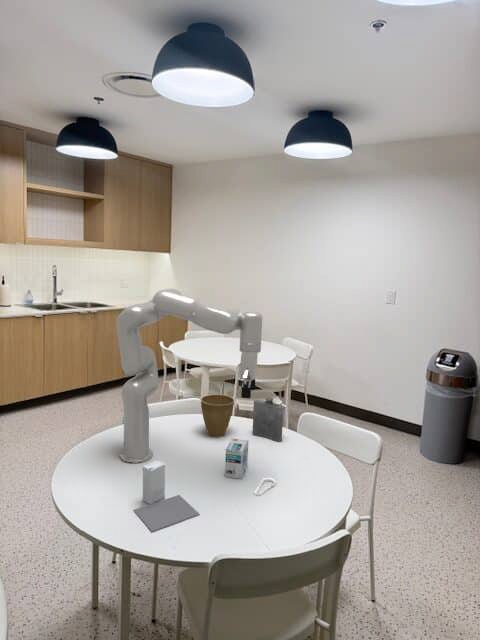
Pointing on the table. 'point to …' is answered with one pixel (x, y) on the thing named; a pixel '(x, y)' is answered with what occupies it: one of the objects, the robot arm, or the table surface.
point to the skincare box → (153, 482)
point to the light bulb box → (236, 458)
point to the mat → (166, 513)
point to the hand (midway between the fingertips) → (248, 393)
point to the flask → (268, 419)
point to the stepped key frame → (263, 483)
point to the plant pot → (217, 413)
